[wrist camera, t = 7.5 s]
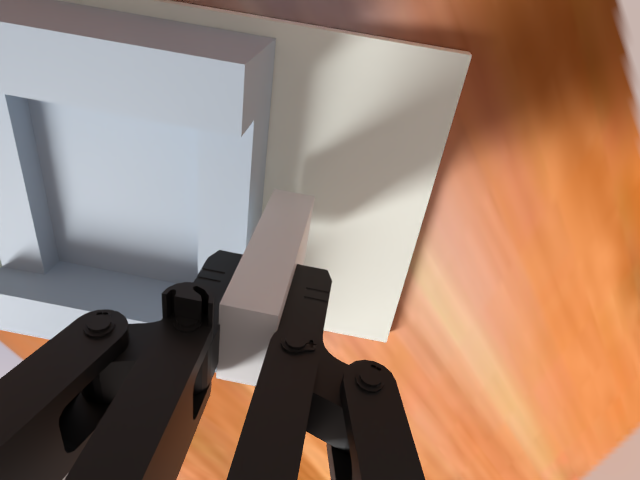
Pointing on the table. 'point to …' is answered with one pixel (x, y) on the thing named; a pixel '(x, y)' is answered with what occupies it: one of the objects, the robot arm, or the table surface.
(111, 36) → the cradle block
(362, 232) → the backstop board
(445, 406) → the table surface
